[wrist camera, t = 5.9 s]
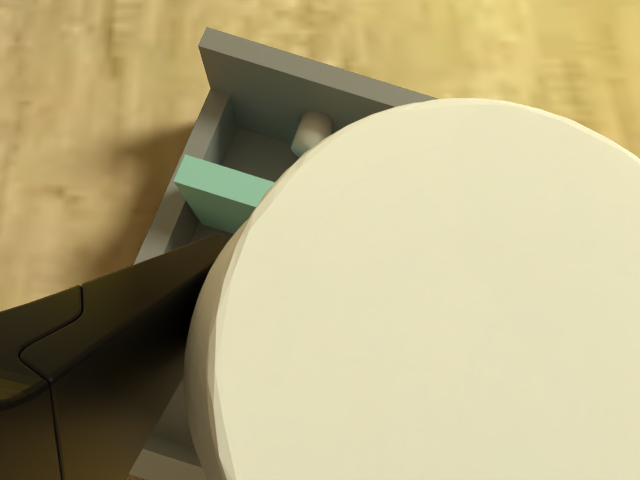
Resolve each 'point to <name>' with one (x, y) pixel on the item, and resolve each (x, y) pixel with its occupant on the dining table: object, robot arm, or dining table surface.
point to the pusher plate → (219, 193)
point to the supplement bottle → (428, 307)
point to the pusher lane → (249, 169)
